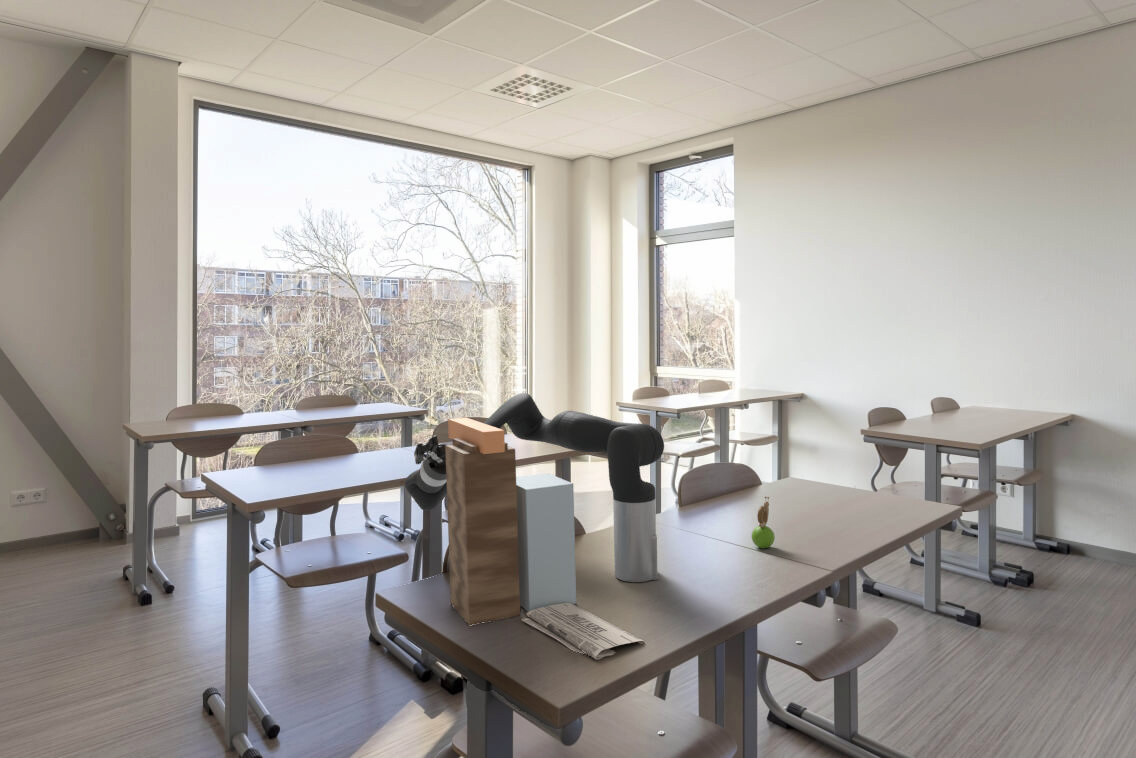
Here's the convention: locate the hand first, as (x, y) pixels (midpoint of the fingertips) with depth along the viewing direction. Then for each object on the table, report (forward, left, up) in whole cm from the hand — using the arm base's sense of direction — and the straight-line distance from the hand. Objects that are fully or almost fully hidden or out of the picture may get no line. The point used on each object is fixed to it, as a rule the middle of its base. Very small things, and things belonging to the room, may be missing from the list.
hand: (455, 437), depth 146 cm
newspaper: (-27, +23, -33) cm, 49 cm away
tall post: (-8, +13, -32) cm, 35 cm away
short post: (-18, +7, -32) cm, 37 cm away
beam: (-6, +10, 0) cm, 12 cm away
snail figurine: (-70, -26, -32) cm, 81 cm away
